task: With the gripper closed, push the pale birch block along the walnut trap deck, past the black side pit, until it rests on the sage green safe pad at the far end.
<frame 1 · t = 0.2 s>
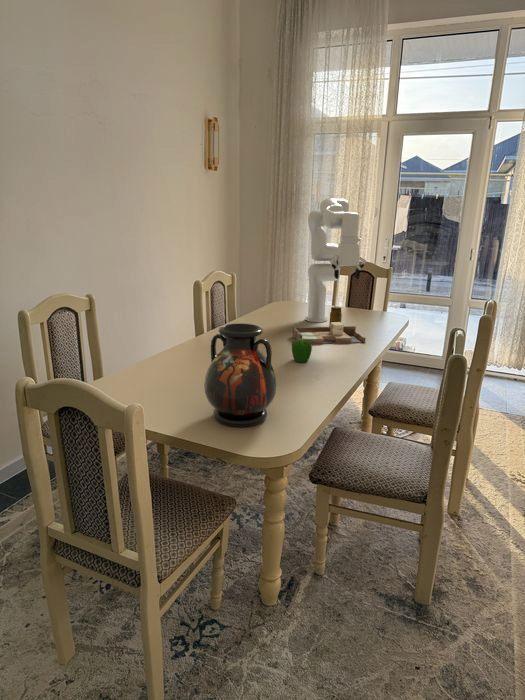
hand: (346, 278, 228), 30 cm above the table, tool pointing down, fingers open, 9 cm apart
trap deck: (329, 339, 239), on the table
bell pepper: (300, 361, 206), on the table
amphora vase: (240, 417, 151), on the table
birch block: (336, 333, 241), point 2 cm above the table, touching trap deck
condiment: (335, 330, 257), on the table
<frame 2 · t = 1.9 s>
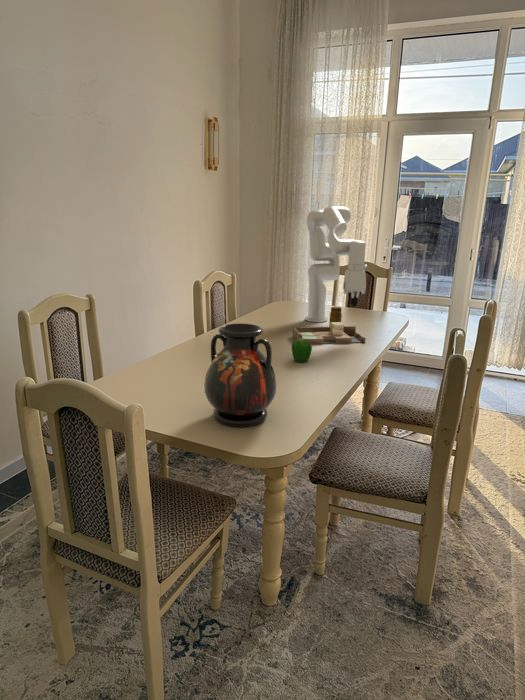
hand: (353, 305, 237), 16 cm above the table, tool pointing down, fingers closed
nothing on the table moved.
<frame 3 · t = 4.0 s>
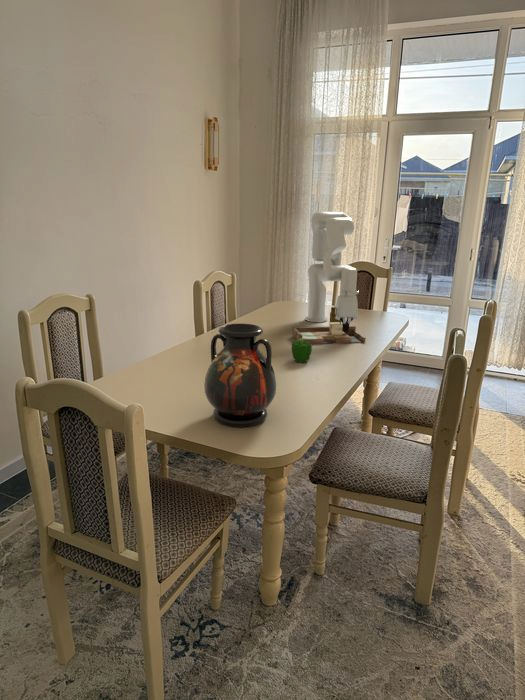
hand: (345, 330, 241), 4 cm above the table, tool pointing down, fingers closed
birch block: (335, 333, 240), point 3 cm above the table, touching gripper
everything else where it was.
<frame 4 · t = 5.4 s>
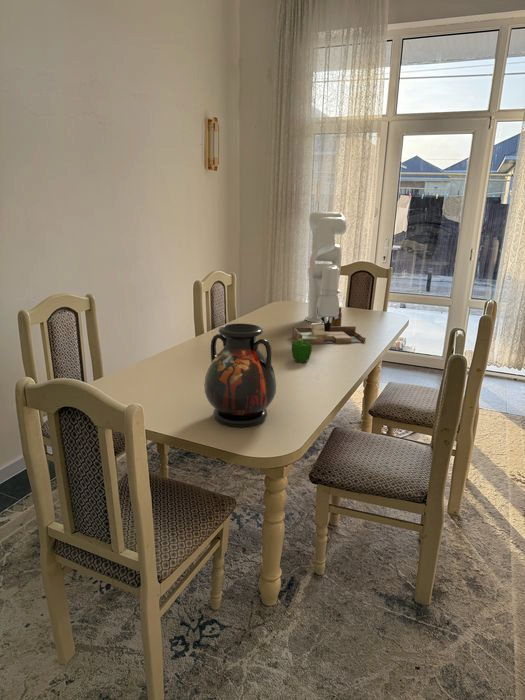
hand: (326, 330, 239), 4 cm above the table, tool pointing down, fingers closed
birch block: (318, 334, 238), point 3 cm above the table, touching gripper, trap deck
everything else where it was.
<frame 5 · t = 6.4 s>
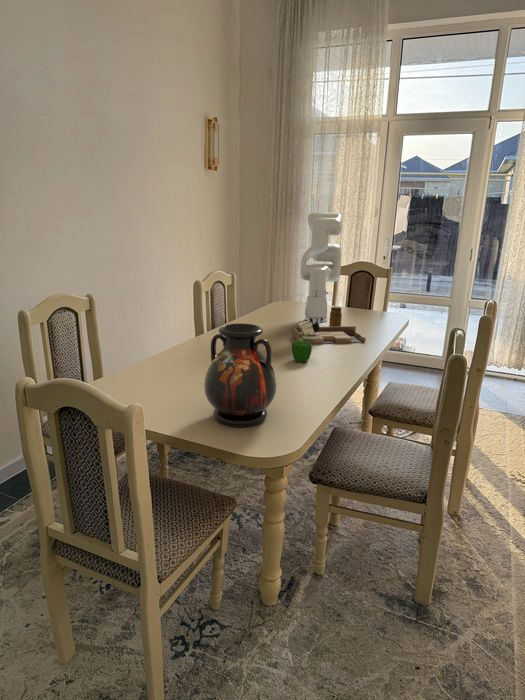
hand: (315, 331, 238), 4 cm above the table, tool pointing down, fingers closed
birch block: (307, 332, 238), point 3 cm above the table, tilted 19°, touching gripper
everything else where it was.
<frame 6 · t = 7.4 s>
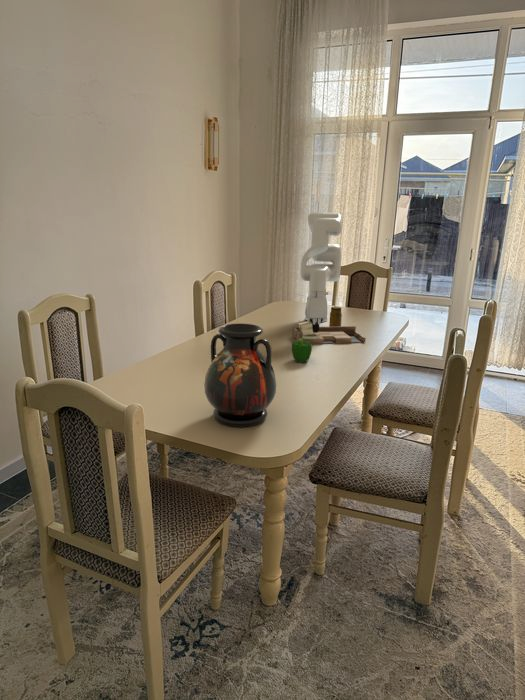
hand: (315, 331, 238), 4 cm above the table, tool pointing down, fingers closed
birch block: (306, 333, 238), point 3 cm above the table, tilted 11°, touching gripper, trap deck
everything else where it was.
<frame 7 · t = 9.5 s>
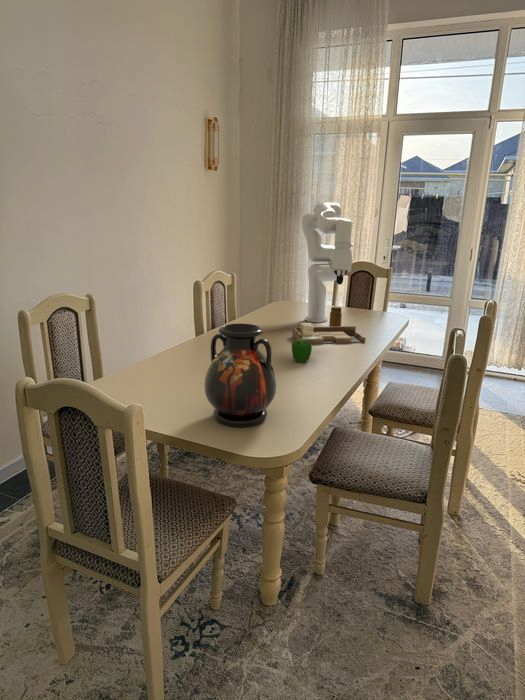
hand: (339, 283, 242), 26 cm above the table, tool pointing down, fingers closed
birch block: (306, 334, 238), point 3 cm above the table, touching trap deck
everything else where it was.
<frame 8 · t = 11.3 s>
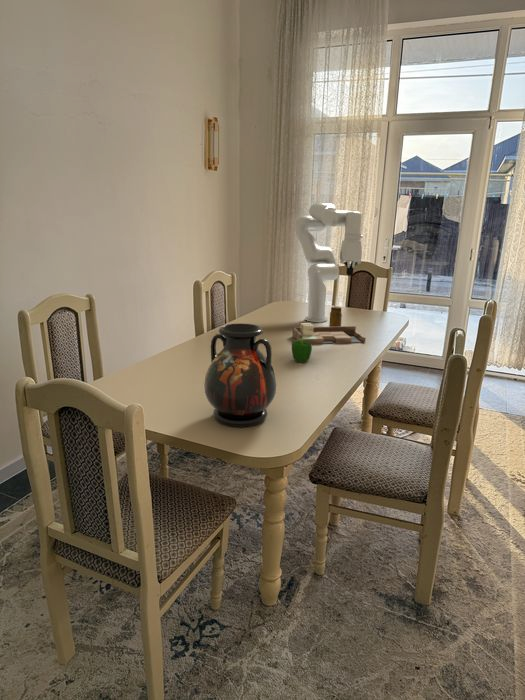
hand: (349, 275, 246), 29 cm above the table, tool pointing down, fingers closed
nothing on the table moved.
at the end: birch block inside the target area on the trap deck (0.9 cm from its centre), point 2.5 cm above the trap deck's base; birch block tilted 0°; birch block moved 15.0 cm from its start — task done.
